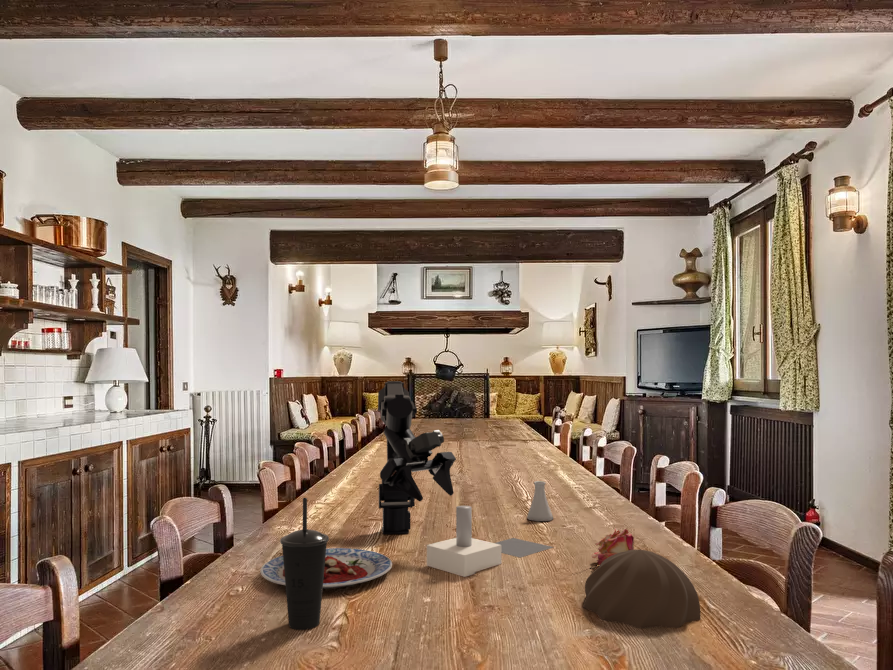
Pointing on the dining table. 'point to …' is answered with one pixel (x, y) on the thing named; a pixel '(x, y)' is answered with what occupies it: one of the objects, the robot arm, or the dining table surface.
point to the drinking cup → (304, 574)
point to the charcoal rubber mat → (520, 547)
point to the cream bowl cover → (463, 549)
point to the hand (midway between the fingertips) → (437, 497)
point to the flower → (614, 545)
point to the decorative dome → (641, 591)
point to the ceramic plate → (337, 567)
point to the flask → (539, 504)
